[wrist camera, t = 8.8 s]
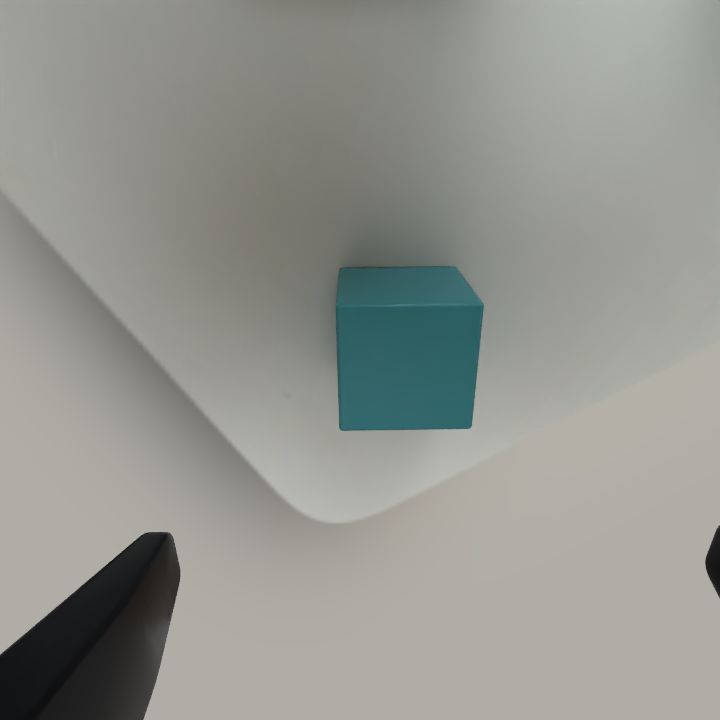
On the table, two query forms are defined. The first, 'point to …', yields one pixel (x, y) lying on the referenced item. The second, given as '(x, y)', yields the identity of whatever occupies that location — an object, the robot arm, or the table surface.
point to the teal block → (406, 348)
